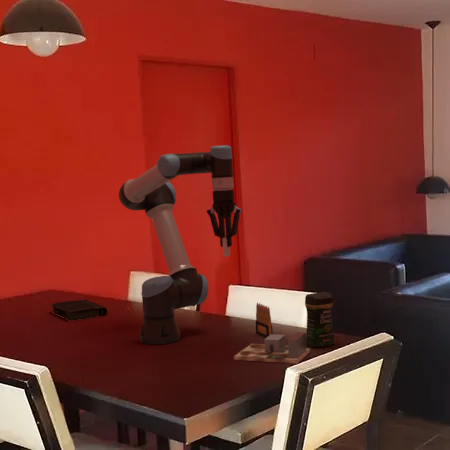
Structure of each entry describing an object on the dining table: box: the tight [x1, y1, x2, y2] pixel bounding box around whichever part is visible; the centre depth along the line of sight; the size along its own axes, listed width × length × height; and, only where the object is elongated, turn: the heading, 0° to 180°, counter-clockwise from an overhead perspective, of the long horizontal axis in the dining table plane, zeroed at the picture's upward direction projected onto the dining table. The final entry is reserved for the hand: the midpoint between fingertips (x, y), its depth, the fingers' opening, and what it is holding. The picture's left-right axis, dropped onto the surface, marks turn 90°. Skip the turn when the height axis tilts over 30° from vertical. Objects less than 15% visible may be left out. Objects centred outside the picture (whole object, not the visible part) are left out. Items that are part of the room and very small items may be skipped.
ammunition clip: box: [255, 302, 274, 339], centre depth 276 cm, size 11×2×12 cm, turn 24°
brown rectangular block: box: [287, 331, 307, 358], centre depth 245 cm, size 3×10×6 cm, turn 157°
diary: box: [50, 298, 108, 321], centre depth 333 cm, size 19×25×5 cm
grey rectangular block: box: [263, 333, 287, 355], centre depth 246 cm, size 5×11×5 cm, turn 157°
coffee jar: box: [304, 291, 335, 348], centre depth 258 cm, size 10×8×19 cm
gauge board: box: [233, 343, 311, 365], centre depth 248 cm, size 22×14×2 cm, turn 67°
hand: (226, 255), depth 262 cm, fingers closed
